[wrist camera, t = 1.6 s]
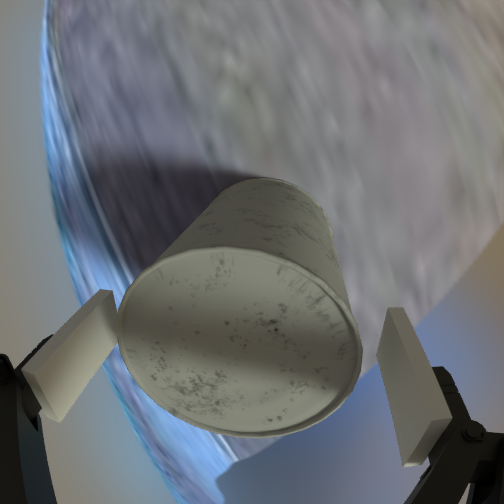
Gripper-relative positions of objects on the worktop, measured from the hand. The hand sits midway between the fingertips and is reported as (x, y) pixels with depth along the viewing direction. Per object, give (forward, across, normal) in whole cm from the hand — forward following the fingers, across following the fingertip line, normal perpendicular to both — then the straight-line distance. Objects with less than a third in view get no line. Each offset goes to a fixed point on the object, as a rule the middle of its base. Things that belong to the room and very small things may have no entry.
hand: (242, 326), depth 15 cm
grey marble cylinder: (+9, 0, 0) cm, 9 cm away
